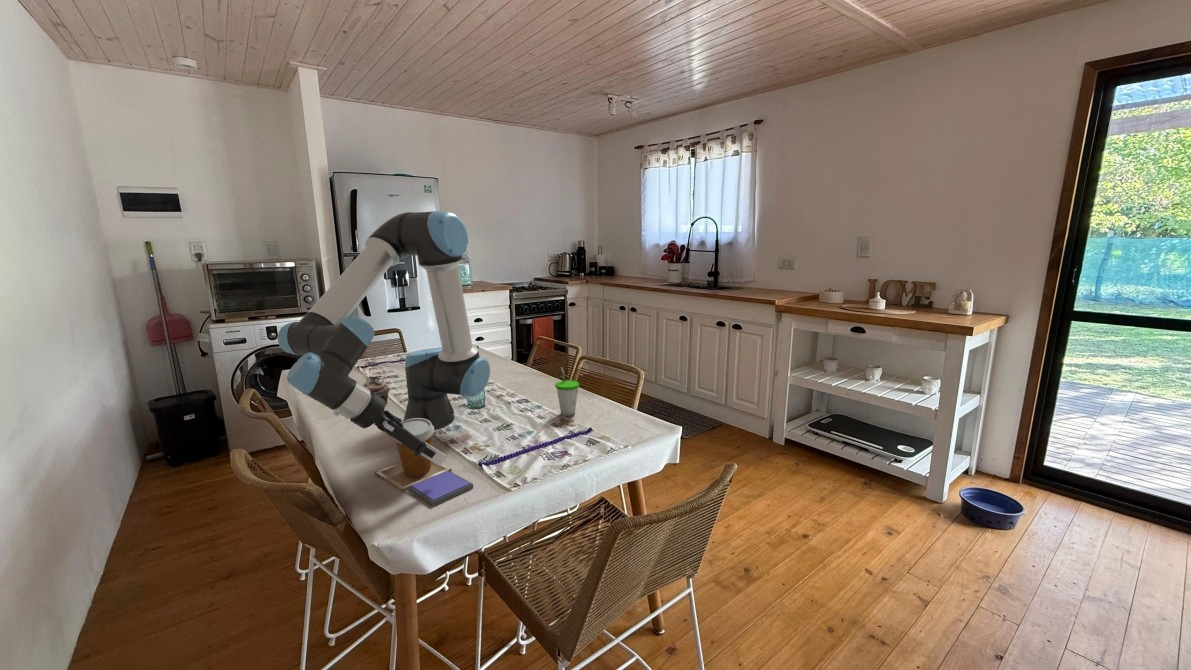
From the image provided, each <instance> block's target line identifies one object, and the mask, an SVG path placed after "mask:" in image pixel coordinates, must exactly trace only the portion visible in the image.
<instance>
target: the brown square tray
mask: <svg viewBox="0 0 1191 670" xmlns="http://www.w3.org/2000/svg"><path fill="white" fill-rule="evenodd" d="M445 471H450V472H452V471H453V470H452V468H450V467H448V466H447V465H445V464H443V463H442V464H441V465H440V466H439V465H437V464H435V463H434V462H432V461H431V468H430V470H429V471H428V472H427V473H426V474H424V475H421V476H416V477H412V476H407V475H406V474H405V473H404V470H403V466H402V463H401V462H399V463H396V464H394V465H390V466H387V467H384V468H382V469H380V470H377V471H374V473H375V475H376V476H378V477H379V478H380V477H381V480H383V481H384V482H385V483H388V484H389V485H390V486H392V487H394V488H395V489H397V490H398V491H400V492H402V493H403V492H405V491H407V490H409V486H411V485H414V484H416V483H418V482H421V481H423V480H426V479H428V478H431V477H433V476H436V475H438V474H440V473H443V472H445Z"/></svg>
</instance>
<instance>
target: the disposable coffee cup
mask: <svg viewBox="0 0 1191 670" xmlns="http://www.w3.org/2000/svg"><path fill="white" fill-rule="evenodd" d="M403 420H404V419H403ZM403 420H402V422H400V423H402V424H403V428H405V429H406V430H407V431H409V432H410V433H412V434H413V435H414V436H416V437H417V438H418V439H420V440H421V441H423V442H426V443H427V444H429V445H431V446H432V447H433V435H434V432H435V429H434V426H433V425H432V423H431V422H430V421H429V420H427V419H424V418H412V419H407V420H404V421H403ZM392 438H393V440H394V441H395V444H396V447H397V448H396V449H397V452H398V454H399V458H400V463H402V466H403V470H404V473H405V474H406V475H407V476H412V477H416V476H421V475H424V474H426V473H427V472H428V471H429V470H430V468H431V461H430V460H429V459H427V458H425V457H424V456H422V455H418V456H415V455H414V454H415V453H416V452H414V451H413V450H411V449H410V448H408V447H407V446H405V445H404V444H402V443H401V442H400V441H398V440H397V439H395V438H394V437H392Z"/></svg>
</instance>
